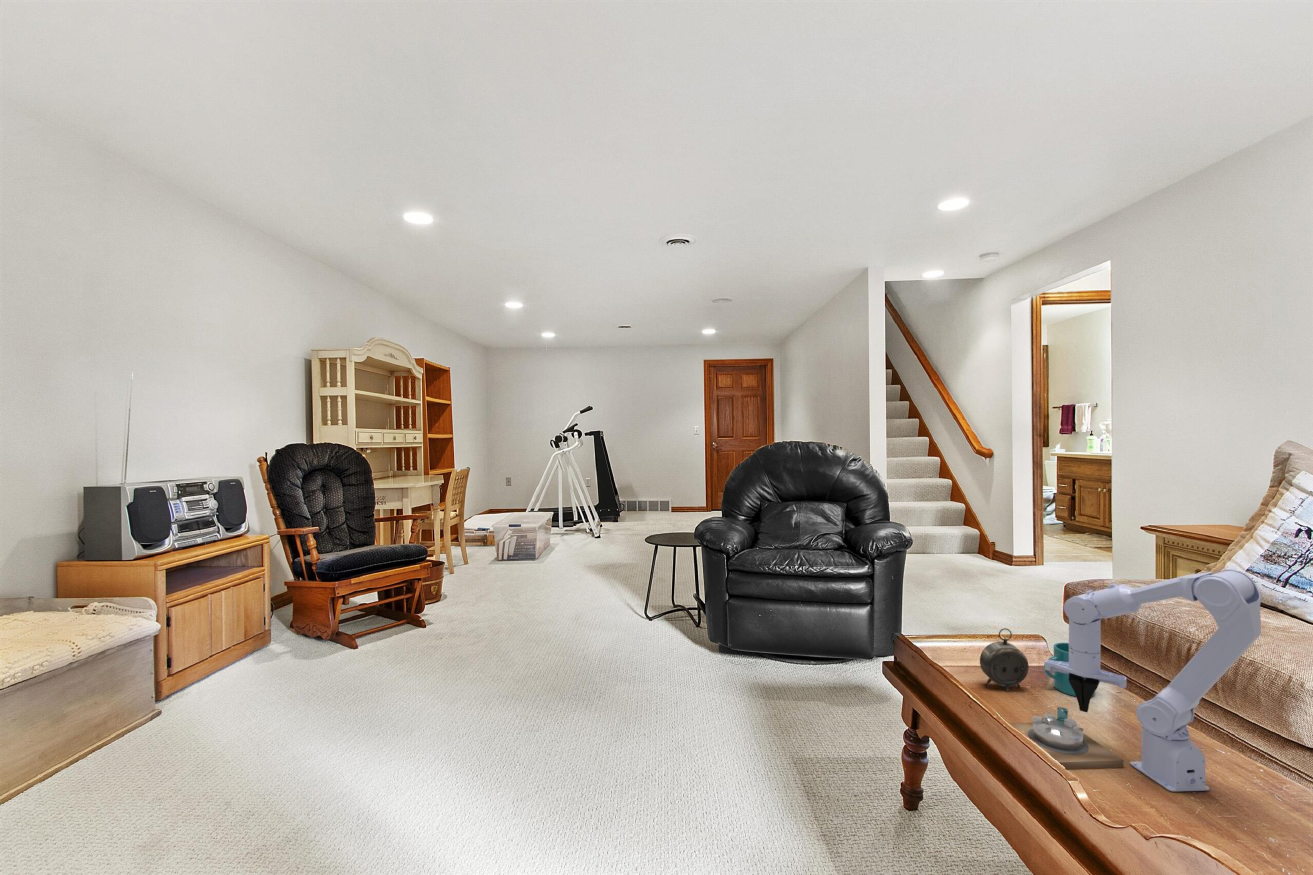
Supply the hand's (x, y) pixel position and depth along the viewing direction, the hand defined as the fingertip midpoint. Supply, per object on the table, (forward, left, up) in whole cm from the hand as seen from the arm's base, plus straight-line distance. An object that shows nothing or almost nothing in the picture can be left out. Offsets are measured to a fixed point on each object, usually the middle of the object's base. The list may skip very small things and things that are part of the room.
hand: (1083, 709), depth 130 cm
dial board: (-2, +7, -7) cm, 10 cm away
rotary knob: (-1, +6, -5) cm, 8 cm away
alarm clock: (+27, 0, -7) cm, 28 cm away
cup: (+25, -16, -7) cm, 31 cm away
